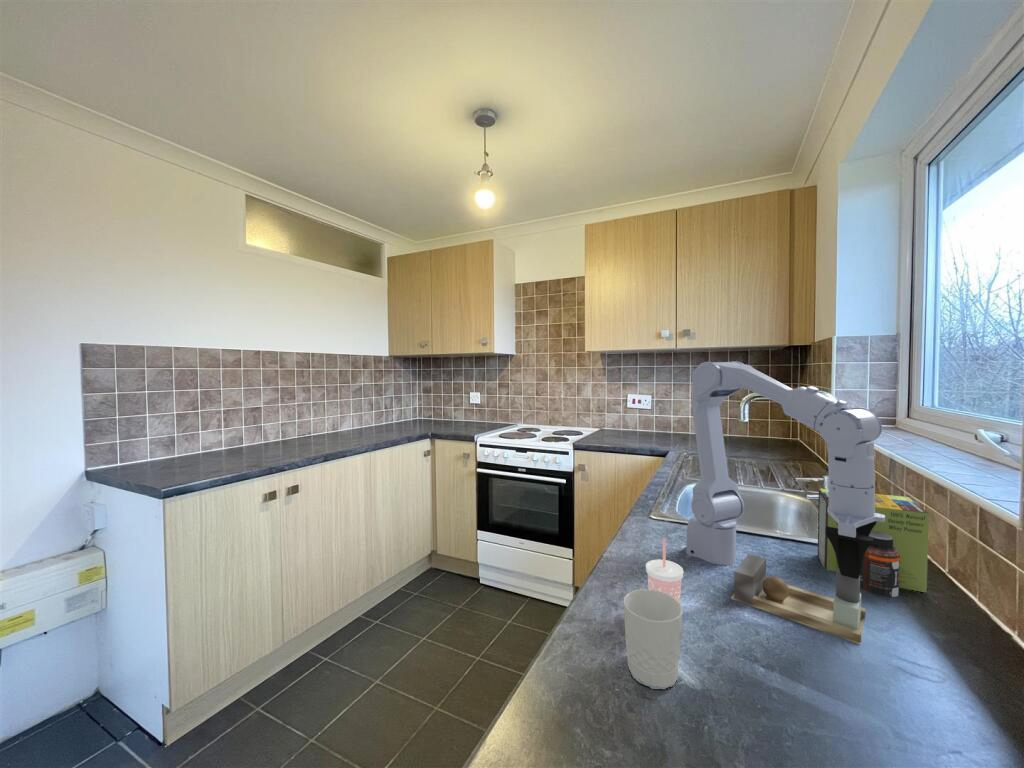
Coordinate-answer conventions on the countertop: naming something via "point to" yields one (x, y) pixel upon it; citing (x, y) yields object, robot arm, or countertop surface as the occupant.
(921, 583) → the protein box
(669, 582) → the beverage cup
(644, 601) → the white cup
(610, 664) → the countertop surface
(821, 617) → the base
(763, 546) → the countertop surface
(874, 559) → the supplement bottle
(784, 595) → the nut
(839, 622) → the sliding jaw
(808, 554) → the countertop surface
